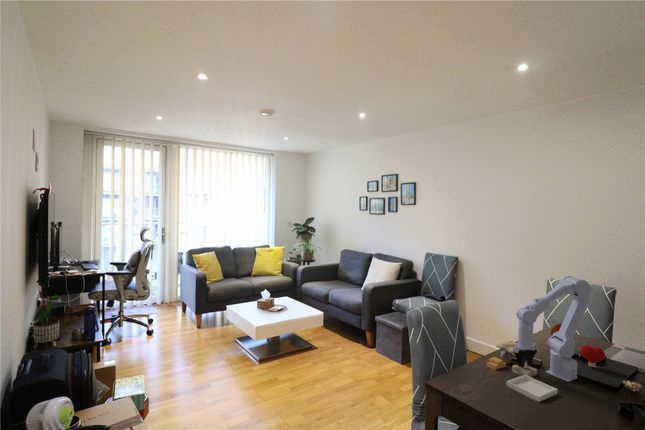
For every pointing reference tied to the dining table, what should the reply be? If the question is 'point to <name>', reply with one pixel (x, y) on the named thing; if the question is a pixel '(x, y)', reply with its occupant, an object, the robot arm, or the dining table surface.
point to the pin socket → (521, 371)
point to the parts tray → (531, 388)
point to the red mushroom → (592, 354)
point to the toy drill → (555, 329)
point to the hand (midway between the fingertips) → (524, 365)
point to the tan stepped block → (495, 363)
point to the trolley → (507, 351)
